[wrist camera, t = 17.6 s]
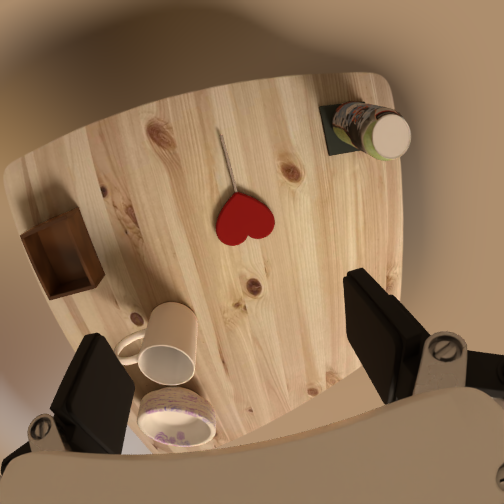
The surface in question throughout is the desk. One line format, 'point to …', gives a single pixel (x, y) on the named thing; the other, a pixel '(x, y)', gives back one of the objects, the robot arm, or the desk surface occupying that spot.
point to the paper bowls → (177, 417)
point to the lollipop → (242, 216)
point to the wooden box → (63, 255)
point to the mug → (165, 345)
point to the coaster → (332, 140)
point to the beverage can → (372, 129)
